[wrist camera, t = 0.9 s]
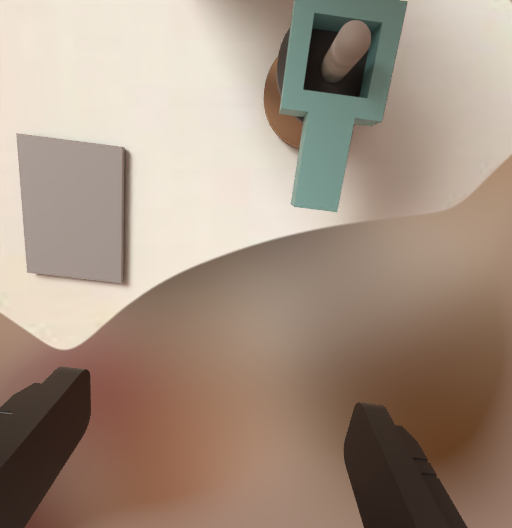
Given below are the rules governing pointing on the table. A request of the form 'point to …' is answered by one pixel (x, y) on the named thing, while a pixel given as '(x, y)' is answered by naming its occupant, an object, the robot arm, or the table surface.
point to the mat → (72, 207)
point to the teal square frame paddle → (334, 105)
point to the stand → (319, 73)
